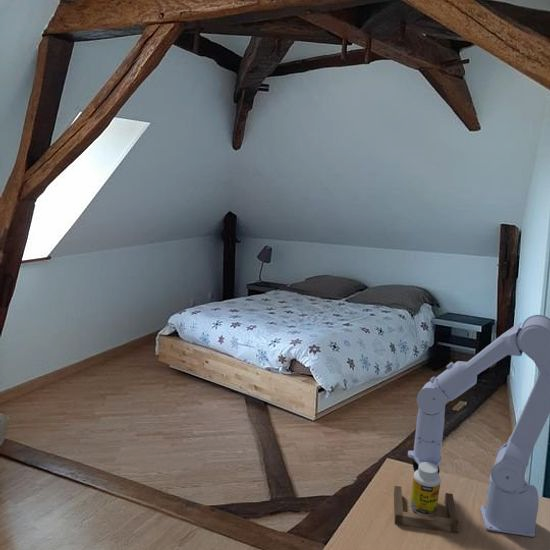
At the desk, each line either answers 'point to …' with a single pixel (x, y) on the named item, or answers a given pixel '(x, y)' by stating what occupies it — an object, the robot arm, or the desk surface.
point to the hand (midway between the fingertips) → (422, 492)
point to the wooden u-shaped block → (425, 520)
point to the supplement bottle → (425, 489)
